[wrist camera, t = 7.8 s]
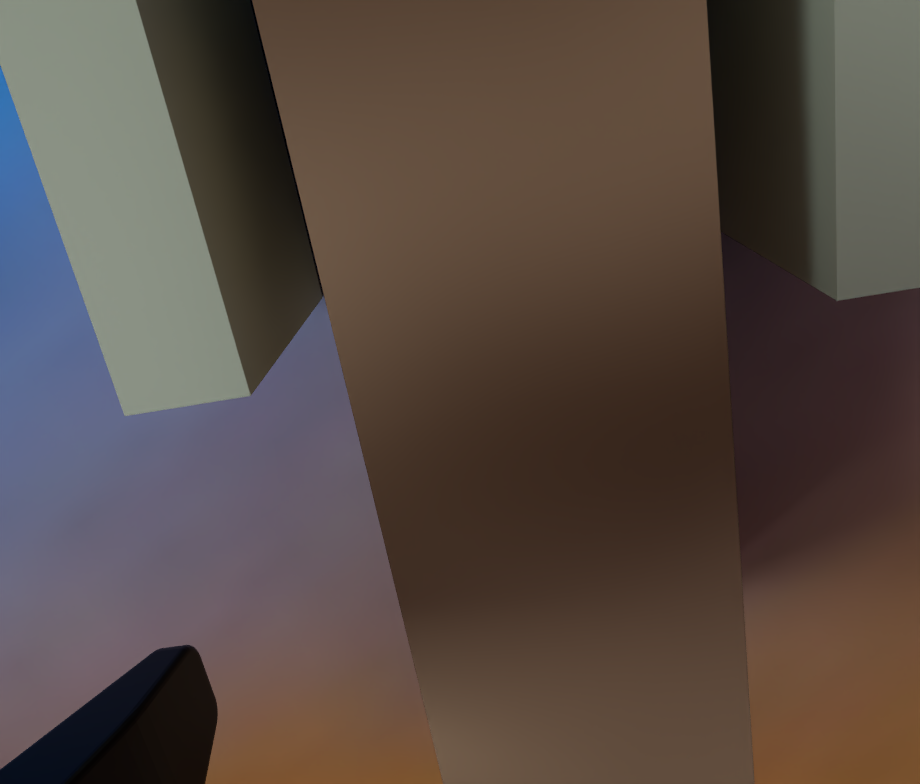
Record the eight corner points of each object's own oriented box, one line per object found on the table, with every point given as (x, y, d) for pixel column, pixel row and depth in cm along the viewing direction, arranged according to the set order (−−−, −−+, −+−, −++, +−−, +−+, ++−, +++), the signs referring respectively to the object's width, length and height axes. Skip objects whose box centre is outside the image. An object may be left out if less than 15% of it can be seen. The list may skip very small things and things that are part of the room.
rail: (672, 605, 15) (757, 833, 11) (467, 632, 16) (462, 864, 11) (601, -105, 11) (691, -243, 6) (323, -48, 11) (218, -139, 7)
